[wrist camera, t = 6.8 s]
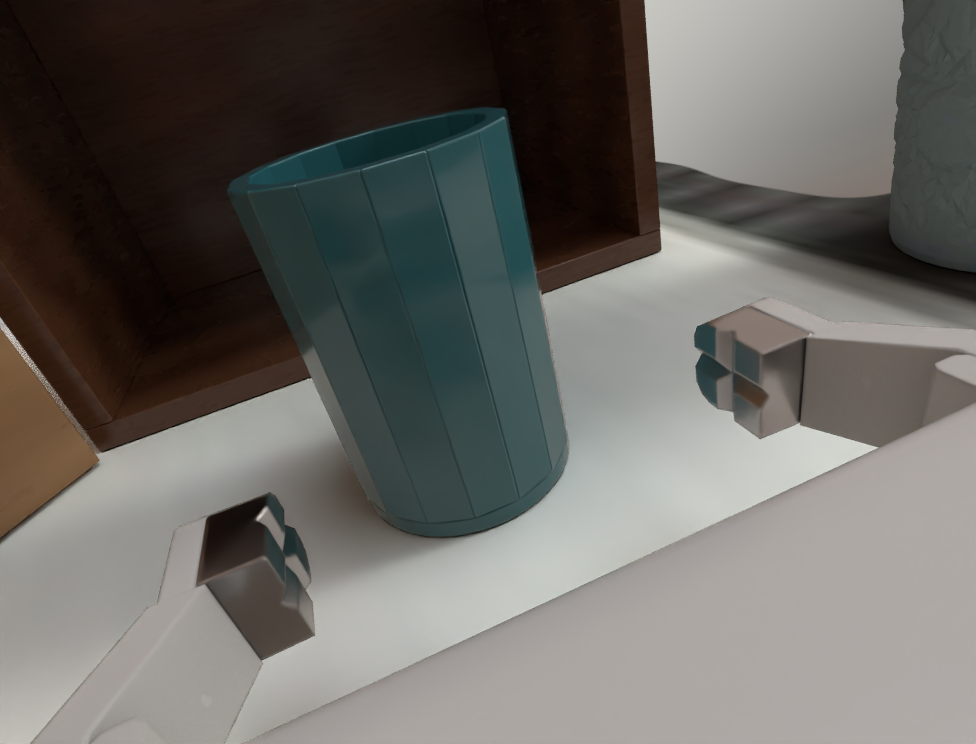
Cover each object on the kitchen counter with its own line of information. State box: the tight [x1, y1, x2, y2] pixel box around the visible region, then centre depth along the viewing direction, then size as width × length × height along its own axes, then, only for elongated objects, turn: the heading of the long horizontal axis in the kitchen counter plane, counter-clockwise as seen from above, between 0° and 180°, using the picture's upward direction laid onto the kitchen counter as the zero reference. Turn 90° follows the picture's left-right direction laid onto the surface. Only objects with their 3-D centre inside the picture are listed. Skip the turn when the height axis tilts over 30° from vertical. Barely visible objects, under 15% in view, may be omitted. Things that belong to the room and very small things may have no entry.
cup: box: [227, 107, 569, 537], centre depth 16 cm, size 7×7×10 cm
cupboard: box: [0, 0, 661, 452], centre depth 29 cm, size 18×28×24 cm, turn 110°
